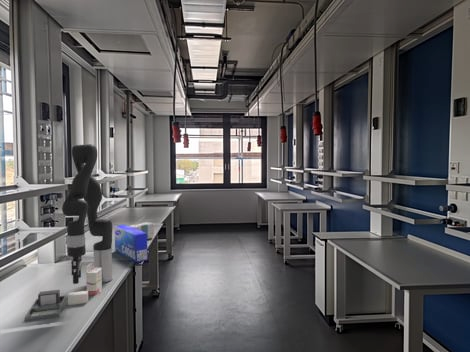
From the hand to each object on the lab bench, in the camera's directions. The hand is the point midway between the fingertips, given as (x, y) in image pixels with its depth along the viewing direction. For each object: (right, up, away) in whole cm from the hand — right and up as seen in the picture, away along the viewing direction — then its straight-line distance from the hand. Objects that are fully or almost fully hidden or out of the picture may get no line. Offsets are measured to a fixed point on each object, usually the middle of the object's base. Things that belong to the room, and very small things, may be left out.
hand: (77, 280), depth 159 cm
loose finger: (0, -11, +1) cm, 11 cm away
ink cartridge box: (+2, -11, +14) cm, 18 cm away
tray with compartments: (-10, -12, -7) cm, 17 cm away
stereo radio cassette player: (-6, -6, +130) cm, 130 cm away
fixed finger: (-12, -10, -2) cm, 15 cm away
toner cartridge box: (-1, -8, +84) cm, 84 cm away
